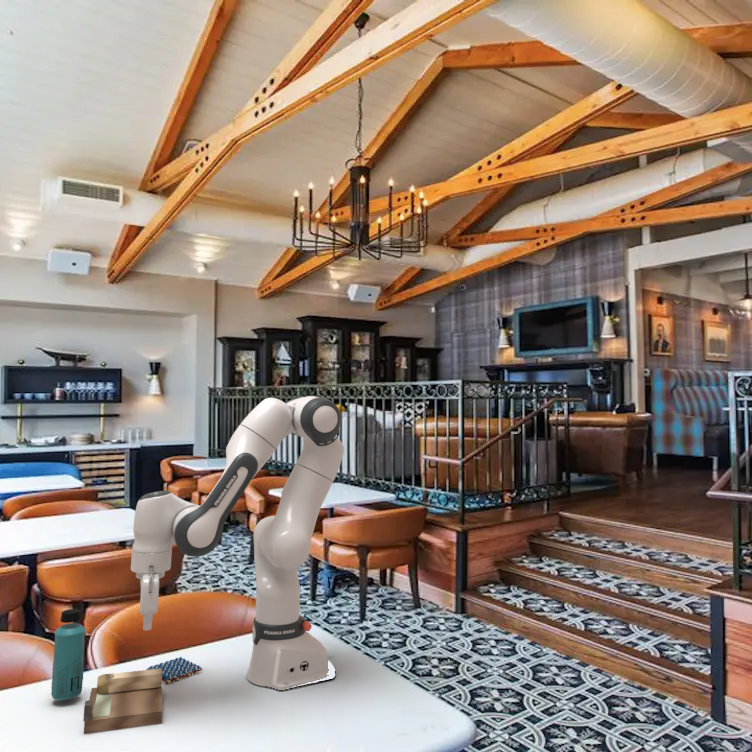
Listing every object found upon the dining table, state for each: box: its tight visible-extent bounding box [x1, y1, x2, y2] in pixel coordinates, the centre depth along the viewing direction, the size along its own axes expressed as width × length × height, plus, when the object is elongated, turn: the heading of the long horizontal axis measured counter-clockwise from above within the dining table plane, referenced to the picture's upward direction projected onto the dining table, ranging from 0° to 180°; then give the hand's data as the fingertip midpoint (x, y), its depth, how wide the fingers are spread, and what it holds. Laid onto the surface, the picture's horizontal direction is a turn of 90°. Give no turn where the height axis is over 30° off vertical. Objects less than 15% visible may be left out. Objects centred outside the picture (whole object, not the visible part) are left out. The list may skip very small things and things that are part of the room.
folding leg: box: [96, 668, 163, 694], centre depth 140 cm, size 14×3×3 cm, turn 110°
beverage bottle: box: [50, 608, 86, 701], centre depth 140 cm, size 6×7×20 cm
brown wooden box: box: [83, 686, 163, 735], centre depth 135 cm, size 15×16×6 cm
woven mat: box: [145, 656, 203, 685], centre depth 156 cm, size 10×11×2 cm
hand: (147, 622), depth 142 cm, fingers open, 8 cm apart
